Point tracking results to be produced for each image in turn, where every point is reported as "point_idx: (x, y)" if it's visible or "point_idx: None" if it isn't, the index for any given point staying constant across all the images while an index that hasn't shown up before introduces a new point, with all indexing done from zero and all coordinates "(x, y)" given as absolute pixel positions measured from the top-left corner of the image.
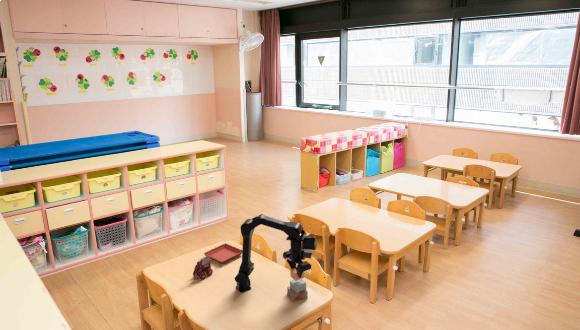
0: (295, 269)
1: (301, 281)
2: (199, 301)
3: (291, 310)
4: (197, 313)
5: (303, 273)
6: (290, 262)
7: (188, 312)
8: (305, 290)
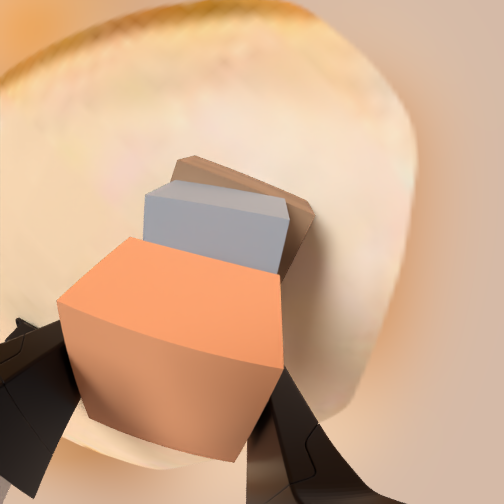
0: (118, 398)
1: (231, 241)
2: (68, 425)
3: (312, 352)
4: (113, 453)
5: (279, 334)
6: (25, 480)
7: (101, 453)
8: (292, 217)
